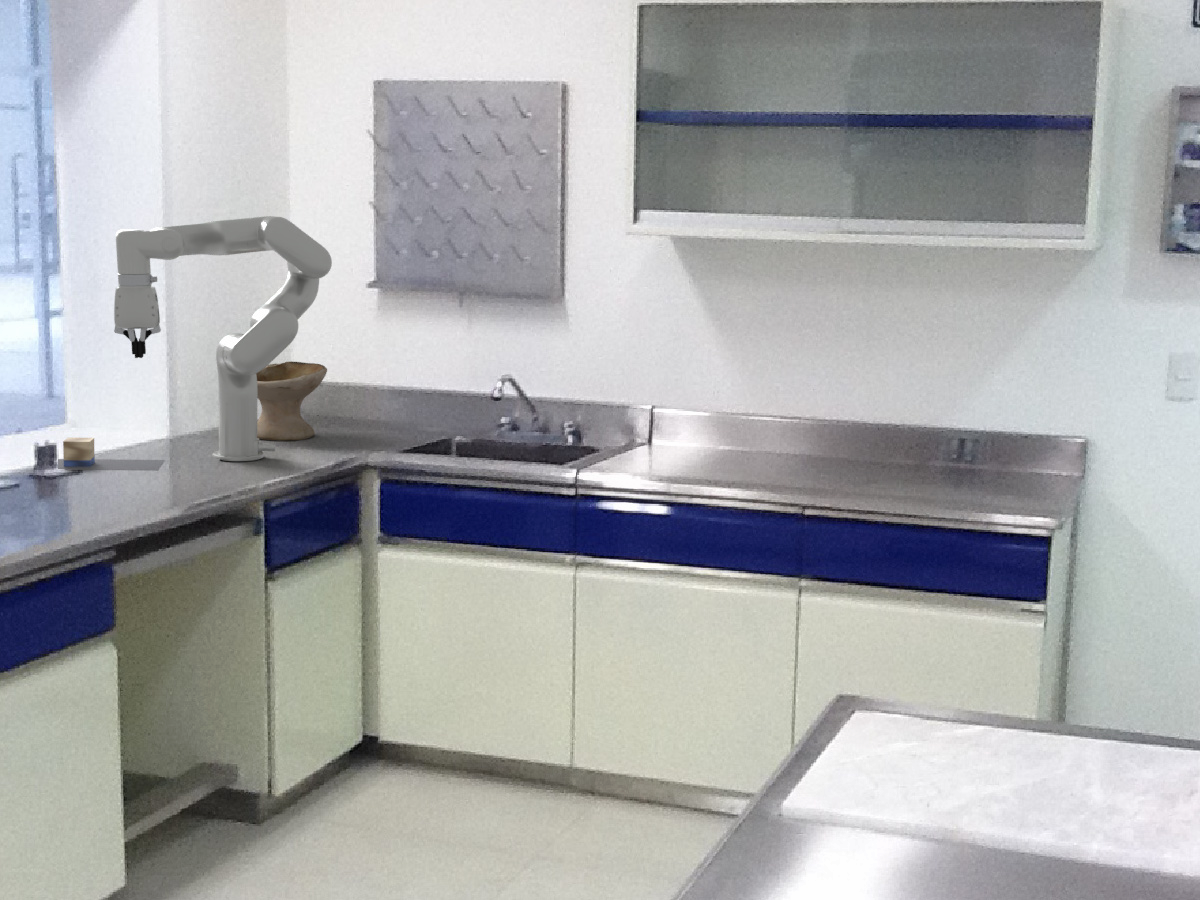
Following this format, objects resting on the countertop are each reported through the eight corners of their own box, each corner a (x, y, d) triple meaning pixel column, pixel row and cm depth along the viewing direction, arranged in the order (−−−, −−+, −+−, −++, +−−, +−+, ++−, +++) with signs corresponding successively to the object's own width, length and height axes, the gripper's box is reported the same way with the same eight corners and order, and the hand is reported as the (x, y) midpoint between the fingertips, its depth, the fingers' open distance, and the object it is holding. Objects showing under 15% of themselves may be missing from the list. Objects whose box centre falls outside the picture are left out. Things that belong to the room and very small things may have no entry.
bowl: (226, 430, 396) (226, 360, 392) (314, 428, 406) (314, 360, 403) (244, 444, 373) (244, 371, 370) (336, 442, 383) (336, 370, 380)
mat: (165, 461, 343) (165, 459, 343) (157, 472, 329) (157, 470, 329) (54, 460, 338) (54, 458, 338) (42, 471, 325) (42, 469, 325)
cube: (68, 437, 334) (68, 461, 335) (63, 441, 328) (63, 466, 329) (94, 437, 335) (94, 462, 336) (89, 441, 329) (90, 466, 330)
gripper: (169, 280, 338) (173, 355, 341) (104, 280, 335) (109, 356, 339) (165, 282, 331) (169, 358, 334) (99, 282, 328) (104, 359, 332)
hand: (139, 357), depth 337 cm, fingers closed
